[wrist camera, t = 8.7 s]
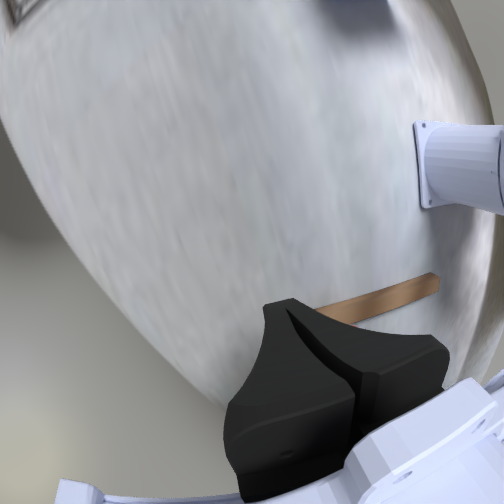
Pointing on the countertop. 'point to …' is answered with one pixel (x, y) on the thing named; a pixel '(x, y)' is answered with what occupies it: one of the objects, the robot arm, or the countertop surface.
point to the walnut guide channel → (382, 299)
